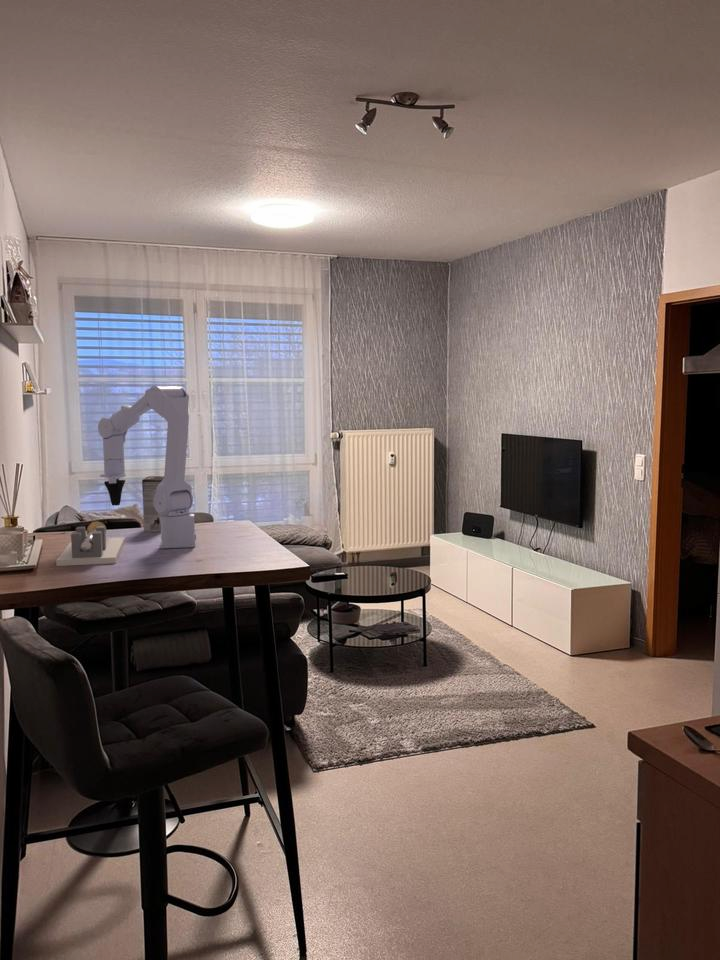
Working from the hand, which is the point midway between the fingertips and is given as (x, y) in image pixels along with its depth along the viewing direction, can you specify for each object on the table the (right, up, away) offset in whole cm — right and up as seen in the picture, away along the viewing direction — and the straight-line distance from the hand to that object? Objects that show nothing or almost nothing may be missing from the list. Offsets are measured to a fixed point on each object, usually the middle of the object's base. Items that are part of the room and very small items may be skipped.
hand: (115, 505), depth 228 cm
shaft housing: (+1, -12, -23) cm, 26 cm away
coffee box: (+9, -8, +13) cm, 18 cm away
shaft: (+2, -10, -25) cm, 27 cm away
